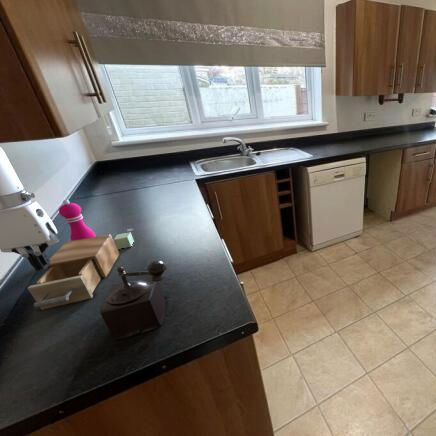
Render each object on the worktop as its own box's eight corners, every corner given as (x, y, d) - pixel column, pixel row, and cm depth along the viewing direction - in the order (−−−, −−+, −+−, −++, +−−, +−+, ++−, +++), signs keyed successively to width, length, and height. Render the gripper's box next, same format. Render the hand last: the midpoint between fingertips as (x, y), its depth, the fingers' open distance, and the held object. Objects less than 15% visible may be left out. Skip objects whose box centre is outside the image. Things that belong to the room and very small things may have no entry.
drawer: (85, 311, 73) (72, 288, 69) (31, 323, 69) (15, 300, 66) (107, 272, 88) (98, 252, 85) (65, 281, 85) (53, 261, 81)
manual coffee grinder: (111, 343, 64) (79, 283, 56) (123, 312, 73) (96, 256, 65) (183, 322, 69) (163, 265, 61) (186, 295, 78) (168, 242, 70)
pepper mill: (99, 240, 110) (78, 194, 101) (100, 247, 105) (78, 200, 96) (76, 247, 106) (52, 199, 97) (76, 254, 101) (50, 205, 92)
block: (117, 249, 103) (113, 239, 101) (121, 244, 107) (117, 234, 105) (131, 247, 104) (127, 237, 102) (134, 241, 108) (130, 232, 106)
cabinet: (107, 280, 86) (95, 255, 82) (58, 291, 82) (43, 265, 78) (120, 257, 98) (110, 234, 94) (78, 265, 94) (66, 241, 90)
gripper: (54, 190, 66) (85, 253, 74) (-27, 200, 62) (15, 265, 70) (37, 201, 60) (72, 268, 68) (-55, 212, 55) (-5, 283, 63)
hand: (43, 267), depth 69 cm, fingers closed
